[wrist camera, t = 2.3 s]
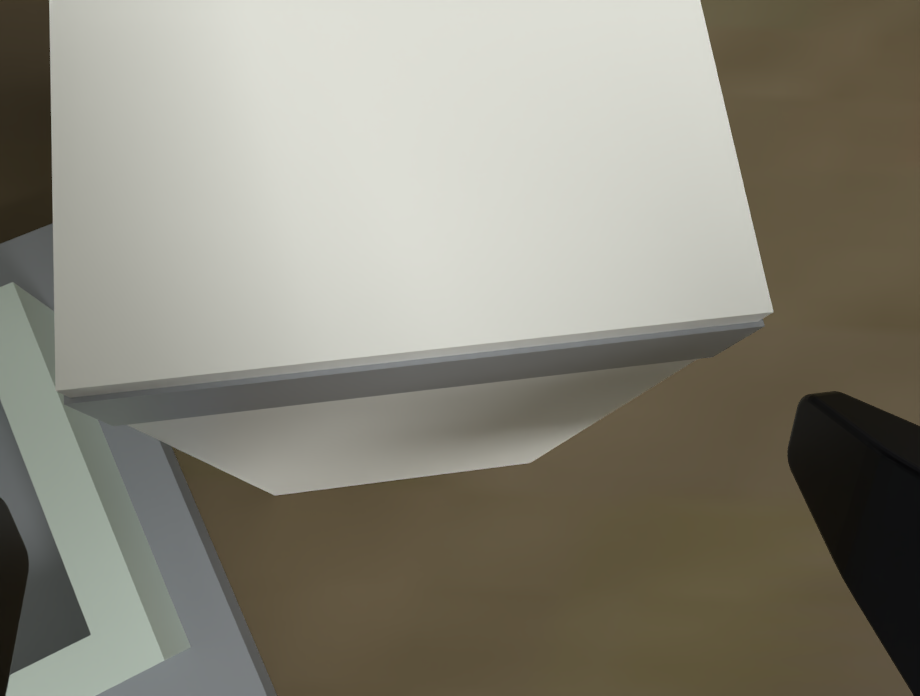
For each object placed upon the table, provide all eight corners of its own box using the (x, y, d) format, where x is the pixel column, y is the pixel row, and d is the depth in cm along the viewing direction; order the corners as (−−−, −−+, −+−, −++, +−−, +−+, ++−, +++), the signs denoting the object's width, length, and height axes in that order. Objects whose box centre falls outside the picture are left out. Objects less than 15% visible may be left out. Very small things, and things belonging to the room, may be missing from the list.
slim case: (507, 301, 20) (686, -78, 8) (532, 464, 19) (779, 317, 7) (259, 326, 19) (42, -46, 7) (272, 497, 18) (48, 397, 6)
